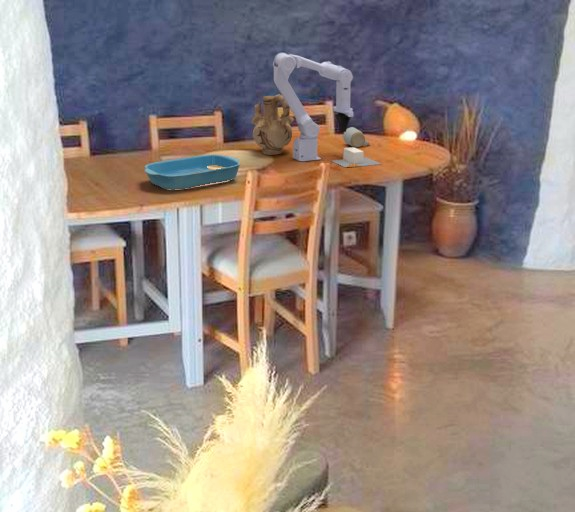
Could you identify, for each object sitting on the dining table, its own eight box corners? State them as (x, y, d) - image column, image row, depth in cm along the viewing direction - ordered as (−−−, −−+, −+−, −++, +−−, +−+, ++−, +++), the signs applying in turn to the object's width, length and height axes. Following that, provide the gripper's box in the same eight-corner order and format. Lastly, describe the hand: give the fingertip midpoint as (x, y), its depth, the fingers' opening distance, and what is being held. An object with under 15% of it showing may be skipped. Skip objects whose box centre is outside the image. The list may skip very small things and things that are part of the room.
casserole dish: (162, 197, 307) (161, 176, 305) (134, 183, 324) (133, 164, 322) (251, 181, 327) (251, 162, 325) (220, 169, 344) (220, 151, 342)
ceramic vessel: (294, 147, 379) (293, 88, 370) (296, 158, 361) (295, 96, 352) (251, 148, 379) (249, 89, 370) (251, 159, 361) (249, 98, 352)
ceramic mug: (350, 148, 379) (351, 131, 376) (342, 144, 386) (343, 127, 384) (372, 147, 383) (373, 129, 380) (364, 143, 390) (364, 126, 387)
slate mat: (345, 168, 346) (345, 167, 346) (331, 161, 357) (331, 160, 357) (381, 164, 352) (381, 163, 352) (366, 157, 363) (366, 157, 363)
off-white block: (343, 158, 360) (353, 163, 352) (343, 148, 358) (353, 152, 350) (352, 157, 361) (363, 162, 354) (353, 147, 360) (363, 151, 352)
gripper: (360, 100, 352) (359, 133, 357) (344, 94, 365) (343, 127, 369) (344, 101, 350) (344, 135, 354) (328, 96, 362) (328, 129, 367)
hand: (343, 131), depth 362 cm, fingers closed
